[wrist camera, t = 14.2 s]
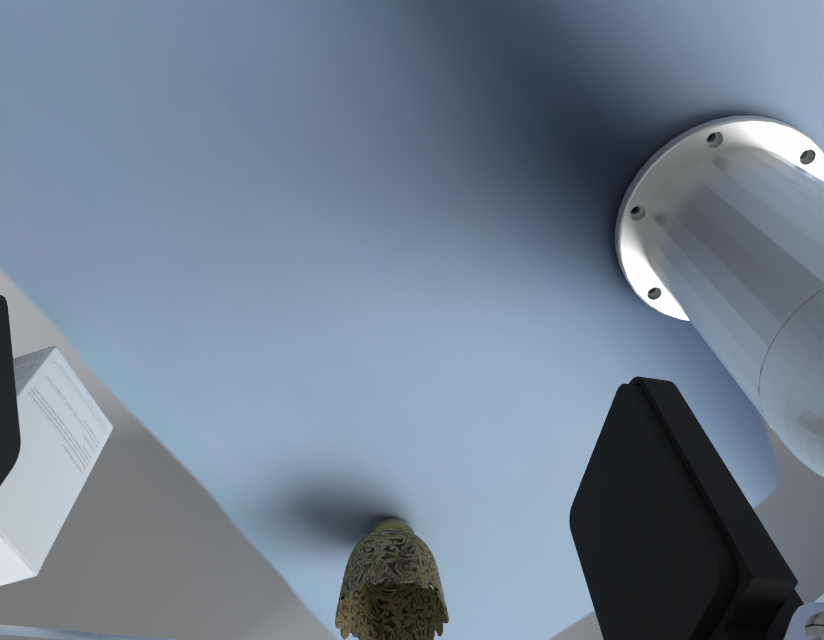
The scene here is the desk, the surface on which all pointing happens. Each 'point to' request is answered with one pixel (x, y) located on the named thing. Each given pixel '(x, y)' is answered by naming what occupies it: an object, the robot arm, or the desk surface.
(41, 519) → the supplement box
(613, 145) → the desk surface
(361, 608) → the cup
